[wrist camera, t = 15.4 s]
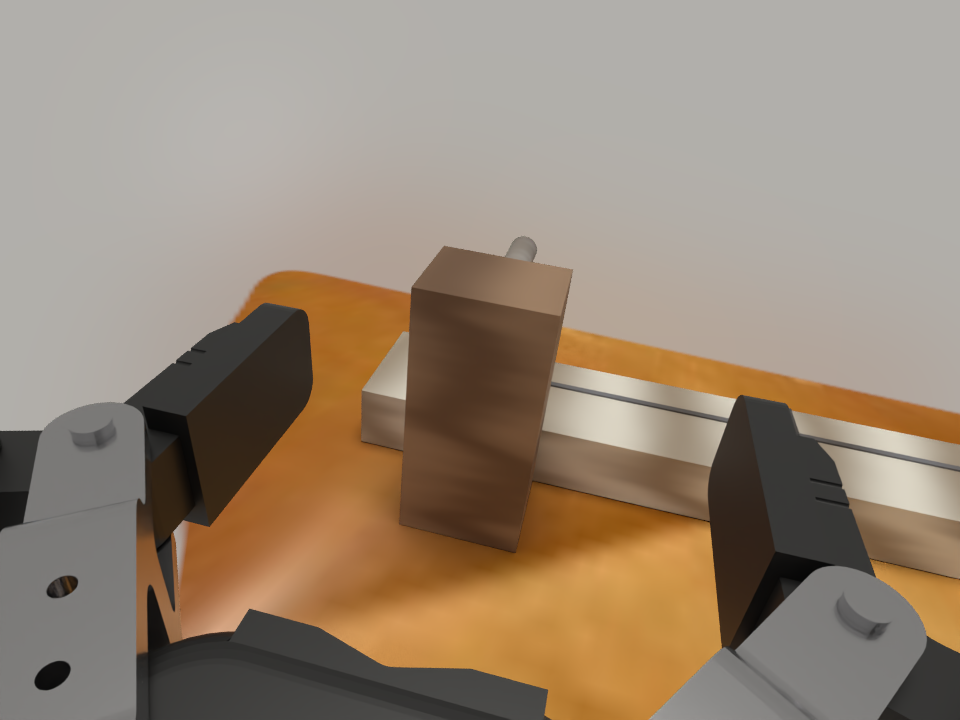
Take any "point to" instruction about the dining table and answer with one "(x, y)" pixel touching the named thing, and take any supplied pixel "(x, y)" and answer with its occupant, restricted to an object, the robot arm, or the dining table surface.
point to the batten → (711, 456)
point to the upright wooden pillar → (478, 390)
